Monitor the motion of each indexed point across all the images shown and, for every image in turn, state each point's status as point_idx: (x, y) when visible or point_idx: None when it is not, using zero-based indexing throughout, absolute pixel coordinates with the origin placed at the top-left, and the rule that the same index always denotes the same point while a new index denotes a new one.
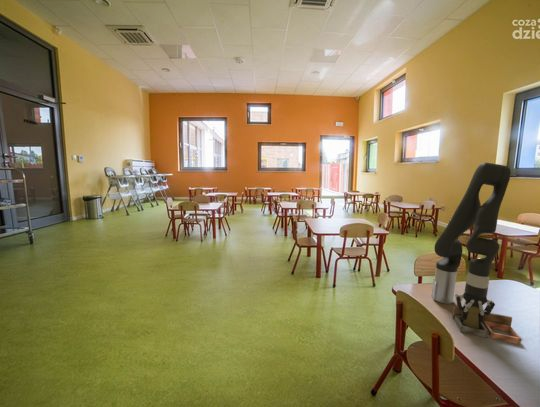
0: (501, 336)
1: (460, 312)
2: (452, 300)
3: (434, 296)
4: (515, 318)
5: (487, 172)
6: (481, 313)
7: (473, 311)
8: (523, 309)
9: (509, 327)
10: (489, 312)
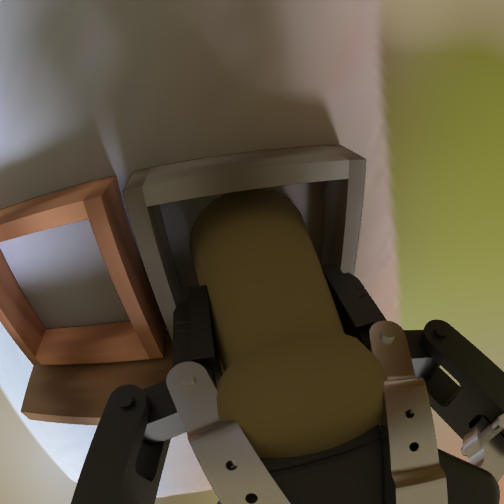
0: (39, 207)
1: None
2: None
3: None
4: None
5: None
6: (199, 383)
7: (332, 356)
8: (66, 452)
9: (29, 348)
10: (109, 424)
